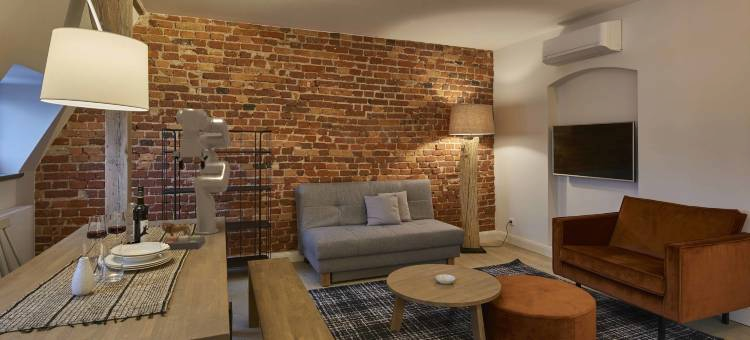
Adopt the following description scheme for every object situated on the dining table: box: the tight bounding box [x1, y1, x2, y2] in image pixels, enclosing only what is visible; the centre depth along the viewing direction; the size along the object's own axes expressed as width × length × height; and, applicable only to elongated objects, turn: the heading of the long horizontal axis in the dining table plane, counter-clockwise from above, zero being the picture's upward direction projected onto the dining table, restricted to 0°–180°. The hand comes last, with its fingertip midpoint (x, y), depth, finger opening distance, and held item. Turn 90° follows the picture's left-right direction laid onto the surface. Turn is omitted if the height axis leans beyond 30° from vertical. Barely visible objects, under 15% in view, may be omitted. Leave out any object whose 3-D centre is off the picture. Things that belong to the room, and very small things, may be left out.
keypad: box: [162, 236, 206, 251], centre depth 202 cm, size 12×16×3 cm
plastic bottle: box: [124, 202, 137, 243], centre depth 208 cm, size 6×7×20 cm
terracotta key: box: [166, 235, 180, 241], centre depth 202 cm, size 4×4×2 cm
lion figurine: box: [161, 221, 194, 237], centre depth 220 cm, size 15×5×9 cm, turn 118°
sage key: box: [190, 234, 202, 241], centre depth 204 cm, size 4×4×2 cm
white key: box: [178, 235, 191, 241], centre depth 203 cm, size 4×4×2 cm
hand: (192, 169), depth 207 cm, fingers open, 9 cm apart
